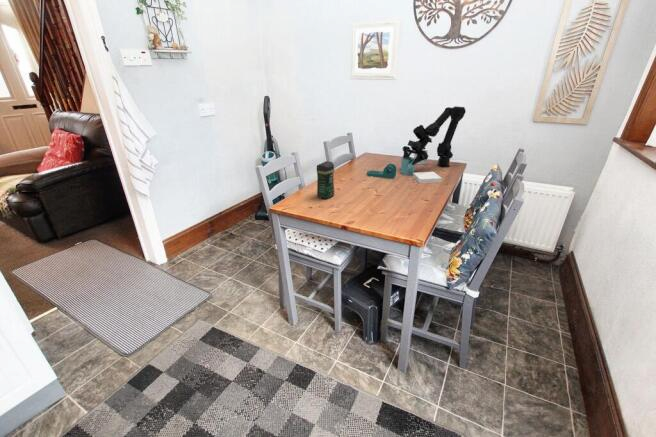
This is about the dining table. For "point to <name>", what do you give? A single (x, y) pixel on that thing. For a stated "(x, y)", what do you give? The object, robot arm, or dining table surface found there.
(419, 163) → the small box
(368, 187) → the dining table surface
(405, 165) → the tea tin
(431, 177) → the riser block
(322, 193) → the coffee jar
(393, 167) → the bracket
